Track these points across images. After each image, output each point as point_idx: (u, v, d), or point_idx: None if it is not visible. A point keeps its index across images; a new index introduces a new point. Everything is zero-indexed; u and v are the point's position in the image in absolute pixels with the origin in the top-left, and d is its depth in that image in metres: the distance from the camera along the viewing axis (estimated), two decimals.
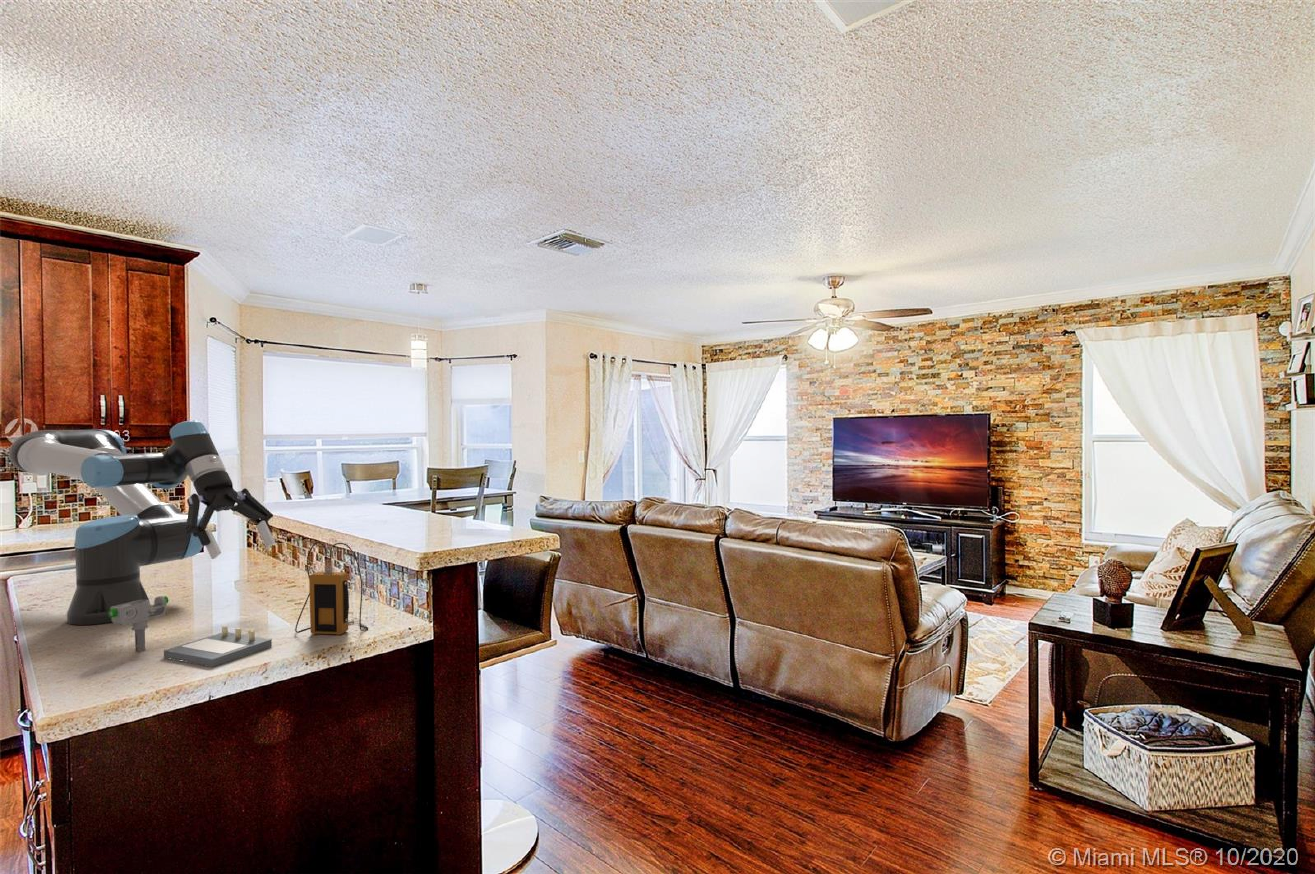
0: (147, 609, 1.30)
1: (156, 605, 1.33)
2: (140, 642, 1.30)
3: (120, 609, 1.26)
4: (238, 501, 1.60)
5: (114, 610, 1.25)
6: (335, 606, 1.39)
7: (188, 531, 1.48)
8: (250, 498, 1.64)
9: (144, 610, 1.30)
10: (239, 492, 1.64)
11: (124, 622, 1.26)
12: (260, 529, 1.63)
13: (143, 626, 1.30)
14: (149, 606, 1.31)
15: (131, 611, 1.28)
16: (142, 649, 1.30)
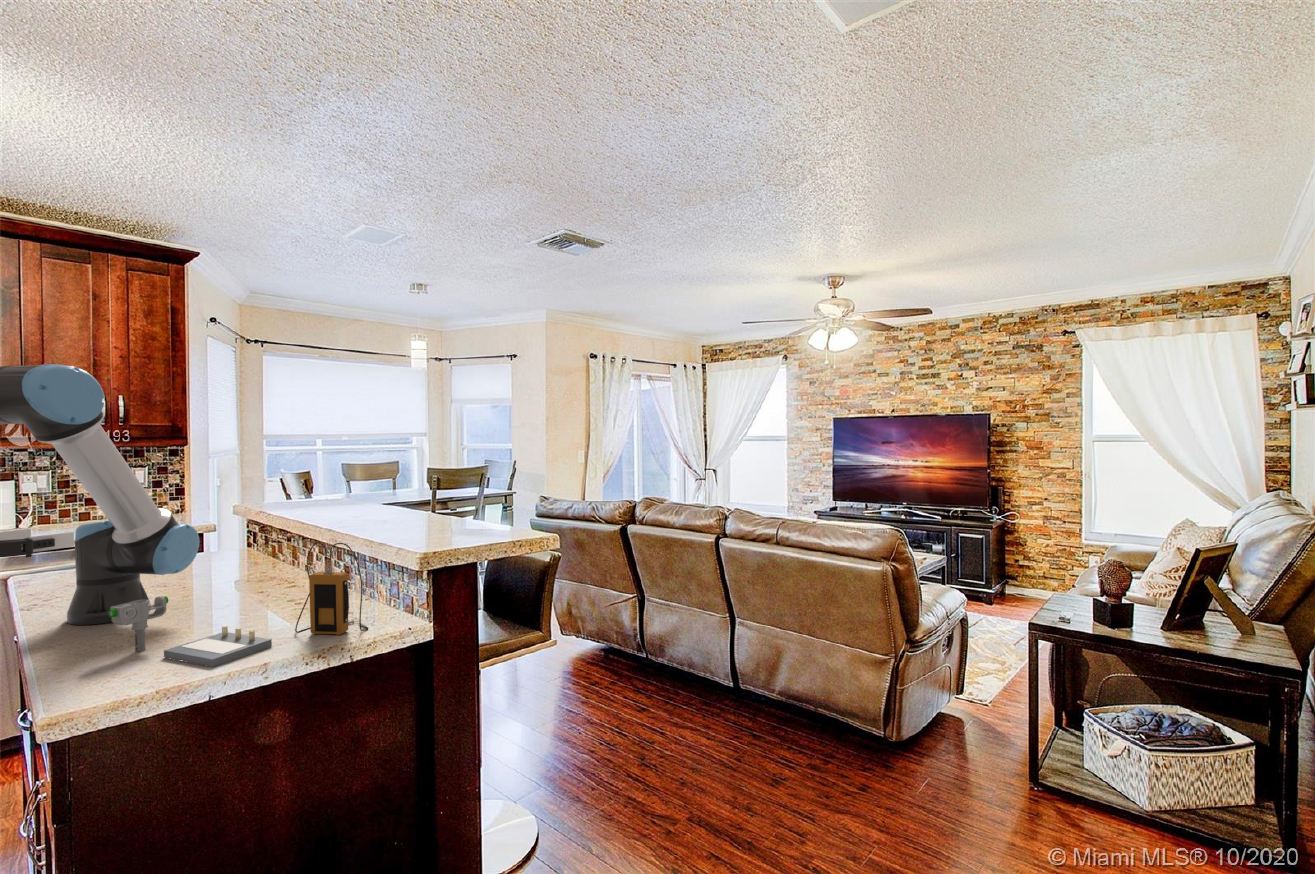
0: (147, 609, 1.30)
1: (156, 605, 1.33)
2: (140, 642, 1.30)
3: (120, 609, 1.26)
4: None
5: (114, 610, 1.25)
6: (335, 606, 1.39)
7: None
8: None
9: (144, 610, 1.30)
10: None
11: (124, 622, 1.26)
12: None
13: (143, 626, 1.30)
14: (149, 606, 1.31)
15: (131, 611, 1.28)
16: (142, 649, 1.30)
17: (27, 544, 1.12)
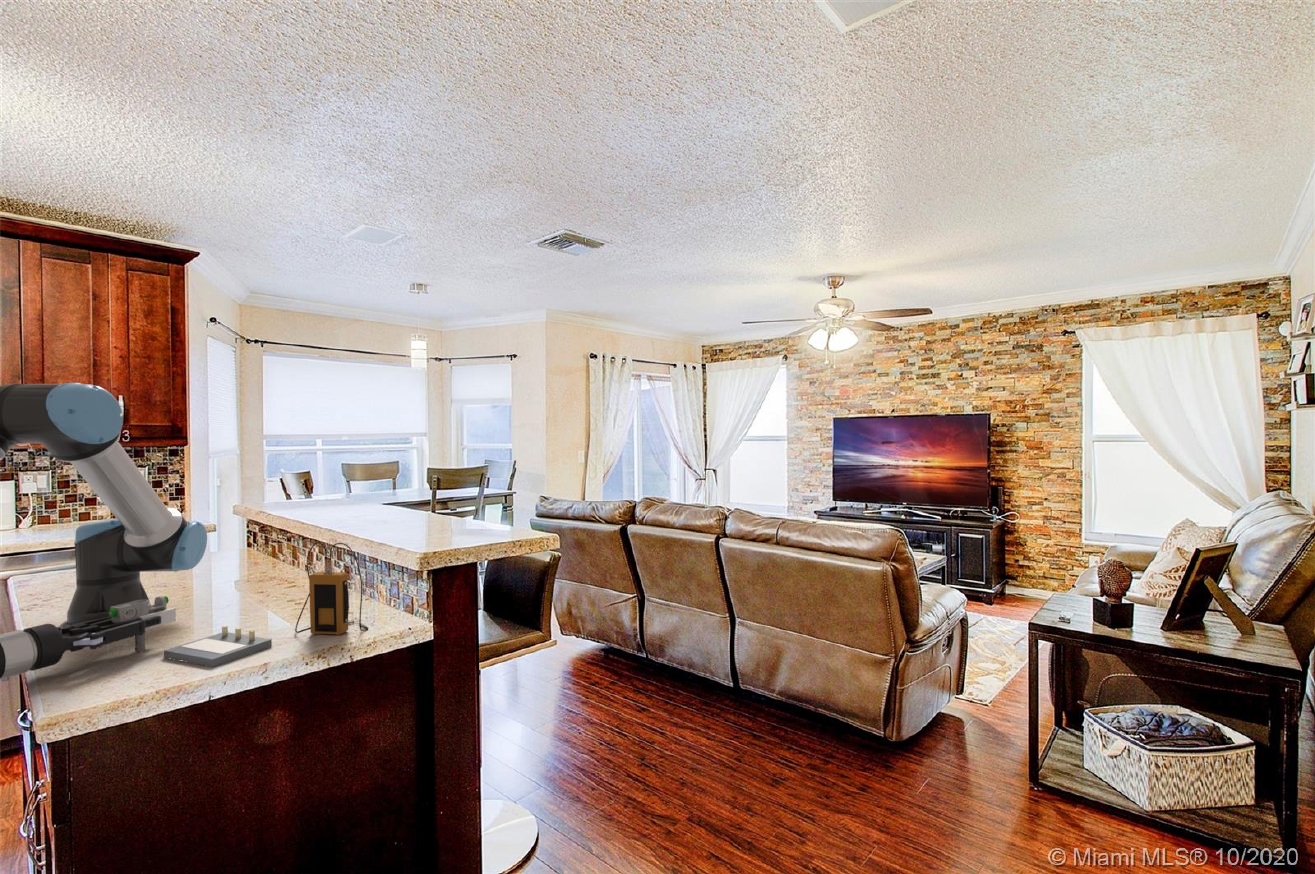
0: (147, 609, 1.30)
1: (156, 605, 1.33)
2: (140, 642, 1.30)
3: (120, 609, 1.26)
4: None
5: (114, 610, 1.25)
6: (335, 606, 1.39)
7: None
8: None
9: (144, 610, 1.30)
10: None
11: None
12: None
13: None
14: (149, 606, 1.31)
15: (131, 611, 1.28)
16: (142, 649, 1.30)
17: (142, 624, 1.26)
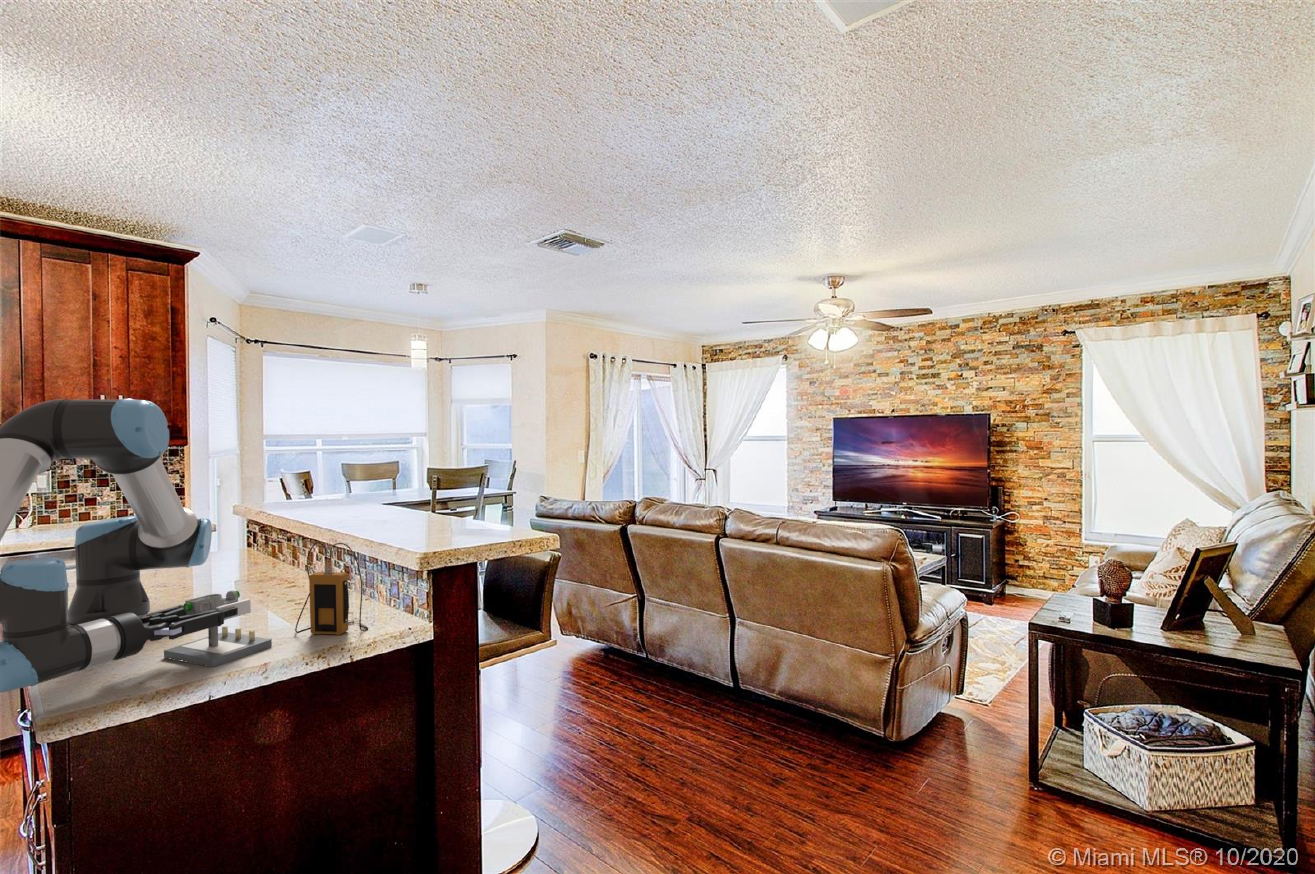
0: (220, 603, 1.28)
1: (228, 599, 1.31)
2: (213, 637, 1.27)
3: (195, 603, 1.23)
4: None
5: (189, 604, 1.23)
6: (335, 606, 1.39)
7: None
8: None
9: (218, 604, 1.27)
10: None
11: None
12: None
13: None
14: (222, 600, 1.28)
15: (205, 605, 1.26)
16: (215, 644, 1.28)
17: (221, 615, 1.23)
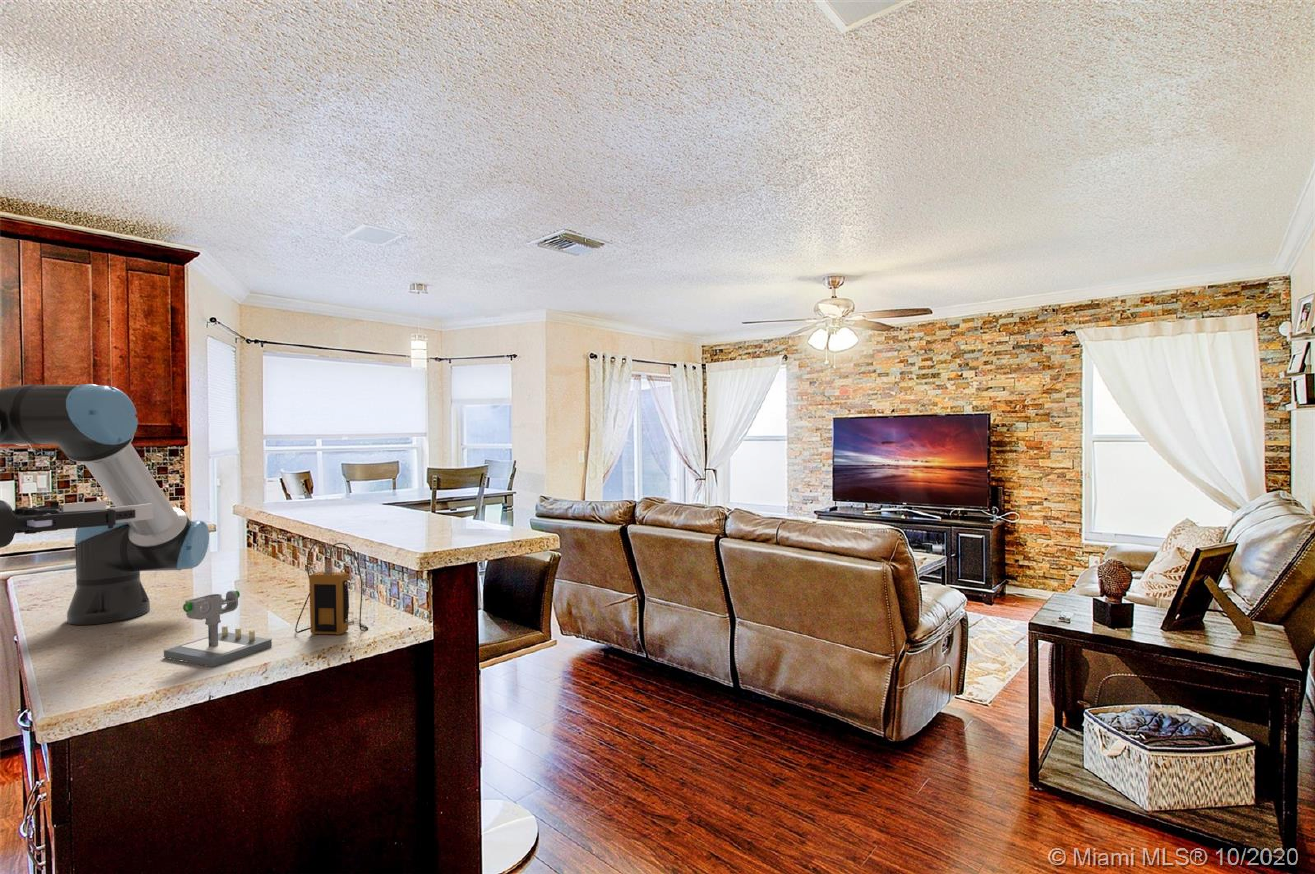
0: (220, 603, 1.28)
1: (228, 599, 1.31)
2: (213, 637, 1.27)
3: (195, 603, 1.23)
4: None
5: (189, 604, 1.23)
6: (335, 606, 1.39)
7: None
8: None
9: (217, 604, 1.27)
10: None
11: (199, 616, 1.24)
12: None
13: (217, 620, 1.27)
14: (222, 600, 1.28)
15: (205, 605, 1.26)
16: (215, 644, 1.28)
17: (110, 514, 1.07)
